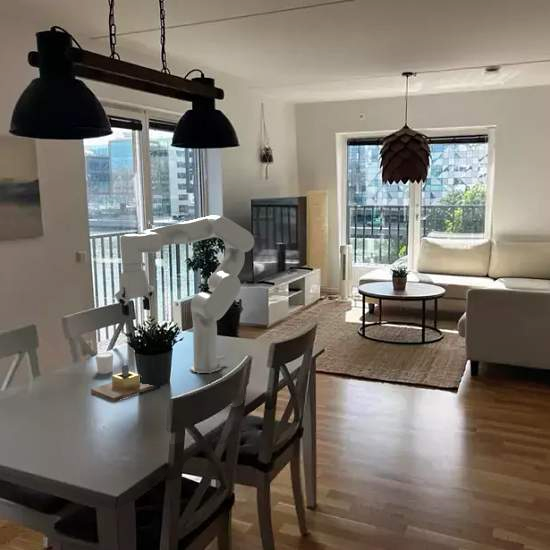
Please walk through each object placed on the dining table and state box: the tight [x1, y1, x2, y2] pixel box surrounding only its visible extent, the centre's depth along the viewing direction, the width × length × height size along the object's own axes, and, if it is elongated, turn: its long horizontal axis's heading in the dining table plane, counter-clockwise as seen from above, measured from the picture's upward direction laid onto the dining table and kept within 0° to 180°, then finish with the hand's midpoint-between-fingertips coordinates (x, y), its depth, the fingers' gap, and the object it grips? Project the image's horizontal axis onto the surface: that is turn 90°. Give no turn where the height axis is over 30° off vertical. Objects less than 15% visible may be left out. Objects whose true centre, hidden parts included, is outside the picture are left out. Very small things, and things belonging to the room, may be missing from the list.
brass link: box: [111, 371, 141, 390], centre depth 207 cm, size 7×7×4 cm
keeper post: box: [121, 363, 130, 378], centre depth 207 cm, size 2×2×8 cm
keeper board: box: [90, 382, 154, 403], centre depth 208 cm, size 20×14×2 cm
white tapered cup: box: [95, 352, 114, 375], centre depth 228 cm, size 7×7×7 cm
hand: (136, 312), depth 213 cm, fingers open, 9 cm apart
